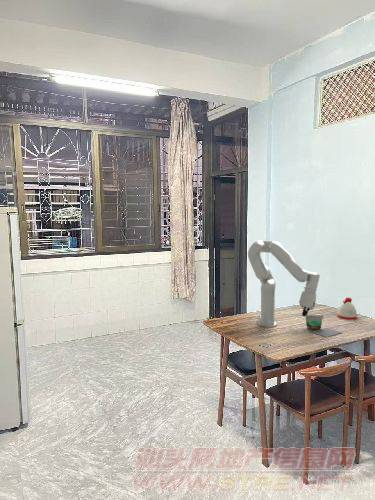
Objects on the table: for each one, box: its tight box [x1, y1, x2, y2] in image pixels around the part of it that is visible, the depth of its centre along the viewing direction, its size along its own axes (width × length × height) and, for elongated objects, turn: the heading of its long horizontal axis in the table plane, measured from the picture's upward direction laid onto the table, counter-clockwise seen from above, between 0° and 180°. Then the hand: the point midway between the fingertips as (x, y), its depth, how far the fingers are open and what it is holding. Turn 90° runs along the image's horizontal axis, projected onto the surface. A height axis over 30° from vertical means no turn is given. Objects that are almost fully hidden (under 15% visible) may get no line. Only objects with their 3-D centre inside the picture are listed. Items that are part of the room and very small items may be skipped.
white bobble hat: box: [336, 297, 358, 320], centre depth 277 cm, size 14×14×15 cm
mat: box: [310, 327, 343, 339], centre depth 241 cm, size 12×16×1 cm
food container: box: [304, 313, 324, 331], centre depth 247 cm, size 12×6×10 cm, turn 89°
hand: (304, 315), depth 252 cm, fingers closed
